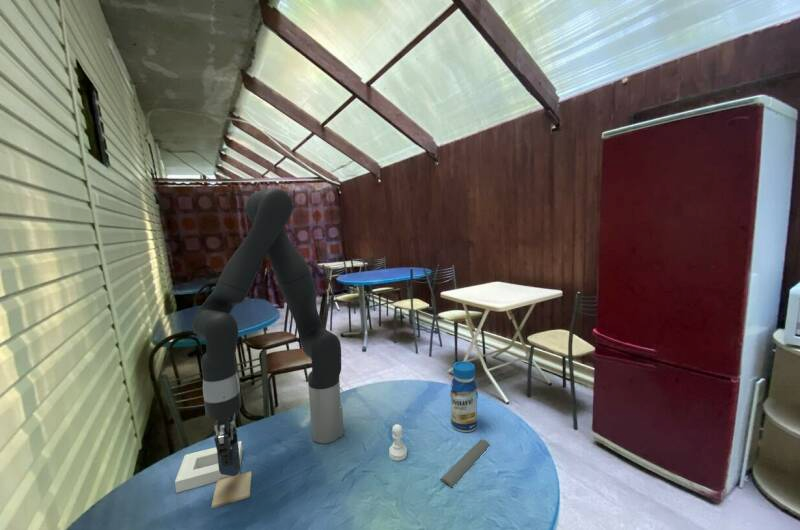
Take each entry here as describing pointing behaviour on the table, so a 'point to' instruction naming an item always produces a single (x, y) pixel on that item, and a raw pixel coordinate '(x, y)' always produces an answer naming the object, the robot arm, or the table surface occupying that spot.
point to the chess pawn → (397, 445)
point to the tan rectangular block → (232, 489)
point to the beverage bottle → (464, 397)
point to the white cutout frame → (200, 469)
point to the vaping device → (235, 466)
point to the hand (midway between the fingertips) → (229, 458)
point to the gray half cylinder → (465, 463)
